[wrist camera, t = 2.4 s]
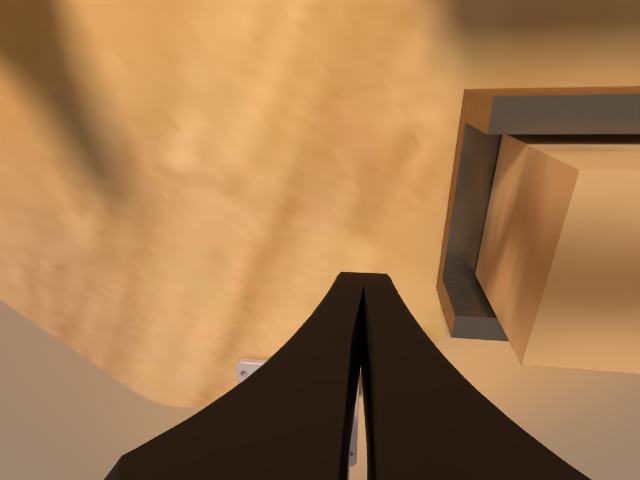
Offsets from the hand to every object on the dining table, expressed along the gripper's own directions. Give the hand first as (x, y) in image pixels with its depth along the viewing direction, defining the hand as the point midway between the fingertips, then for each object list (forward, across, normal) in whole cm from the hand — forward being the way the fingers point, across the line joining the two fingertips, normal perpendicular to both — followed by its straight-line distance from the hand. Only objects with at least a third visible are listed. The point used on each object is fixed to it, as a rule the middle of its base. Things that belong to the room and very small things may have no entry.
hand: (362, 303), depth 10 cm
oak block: (+8, -9, 0) cm, 11 cm away
